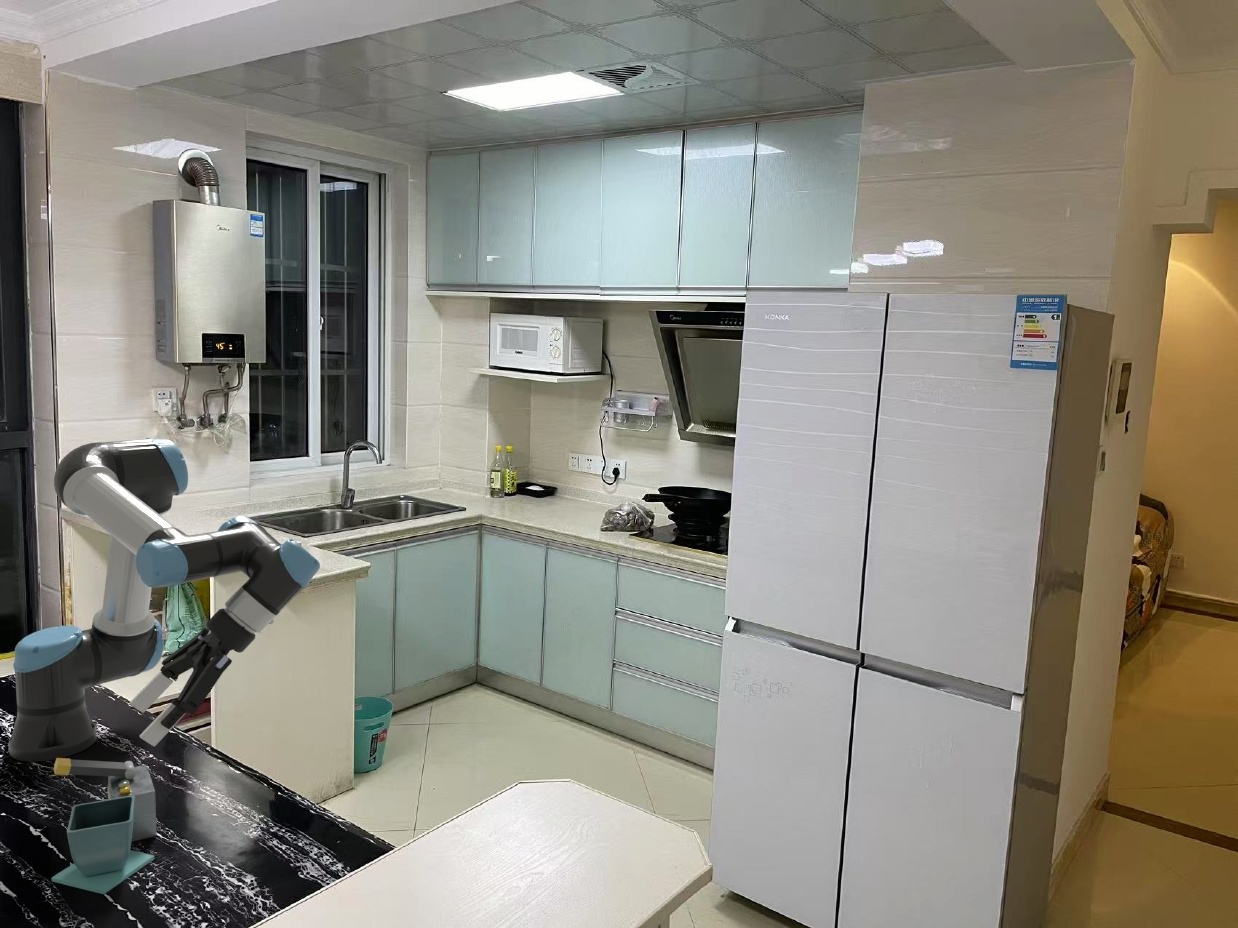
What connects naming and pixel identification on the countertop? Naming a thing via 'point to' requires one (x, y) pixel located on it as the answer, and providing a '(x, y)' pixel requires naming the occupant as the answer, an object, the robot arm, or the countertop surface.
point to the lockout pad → (103, 874)
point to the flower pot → (101, 834)
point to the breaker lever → (94, 768)
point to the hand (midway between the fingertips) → (141, 724)
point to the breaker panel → (137, 800)
